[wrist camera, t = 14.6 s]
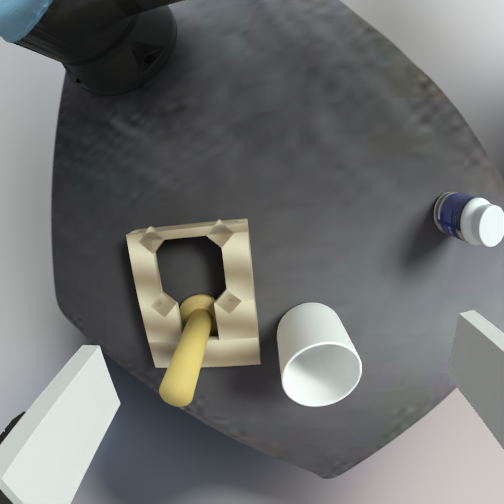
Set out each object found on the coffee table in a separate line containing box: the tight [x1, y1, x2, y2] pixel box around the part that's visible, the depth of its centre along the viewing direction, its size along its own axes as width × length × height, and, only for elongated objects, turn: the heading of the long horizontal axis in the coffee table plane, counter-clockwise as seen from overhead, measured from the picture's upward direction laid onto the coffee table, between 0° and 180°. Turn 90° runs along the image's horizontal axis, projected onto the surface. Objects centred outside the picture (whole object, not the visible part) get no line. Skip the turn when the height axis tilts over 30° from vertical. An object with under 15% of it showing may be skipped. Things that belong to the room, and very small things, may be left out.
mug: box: [277, 303, 362, 407], centre depth 37 cm, size 9×12×11 cm
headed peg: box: [159, 294, 219, 407], centre depth 33 cm, size 6×6×16 cm
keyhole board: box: [126, 218, 261, 368], centre depth 39 cm, size 19×14×3 cm
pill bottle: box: [434, 192, 504, 247], centre depth 32 cm, size 6×6×10 cm
